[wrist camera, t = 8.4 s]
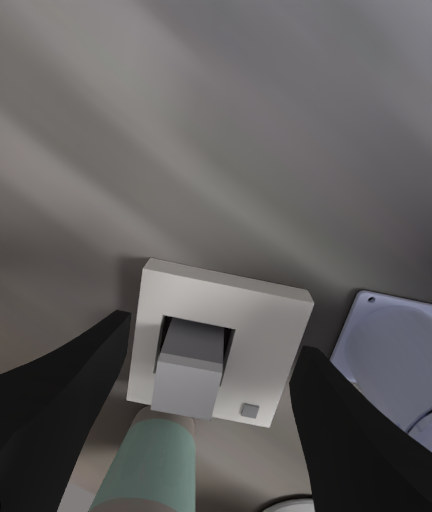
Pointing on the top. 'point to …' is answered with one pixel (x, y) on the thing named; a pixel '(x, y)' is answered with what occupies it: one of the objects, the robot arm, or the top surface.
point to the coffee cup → (152, 467)
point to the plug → (189, 369)
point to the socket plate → (241, 338)
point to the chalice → (293, 506)
